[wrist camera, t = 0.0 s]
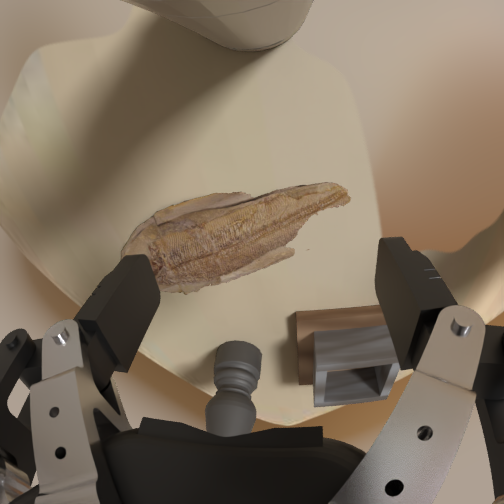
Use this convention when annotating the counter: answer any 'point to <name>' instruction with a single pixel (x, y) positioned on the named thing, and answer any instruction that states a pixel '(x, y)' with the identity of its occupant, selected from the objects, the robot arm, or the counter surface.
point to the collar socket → (346, 355)
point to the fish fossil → (227, 234)
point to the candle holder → (234, 389)
